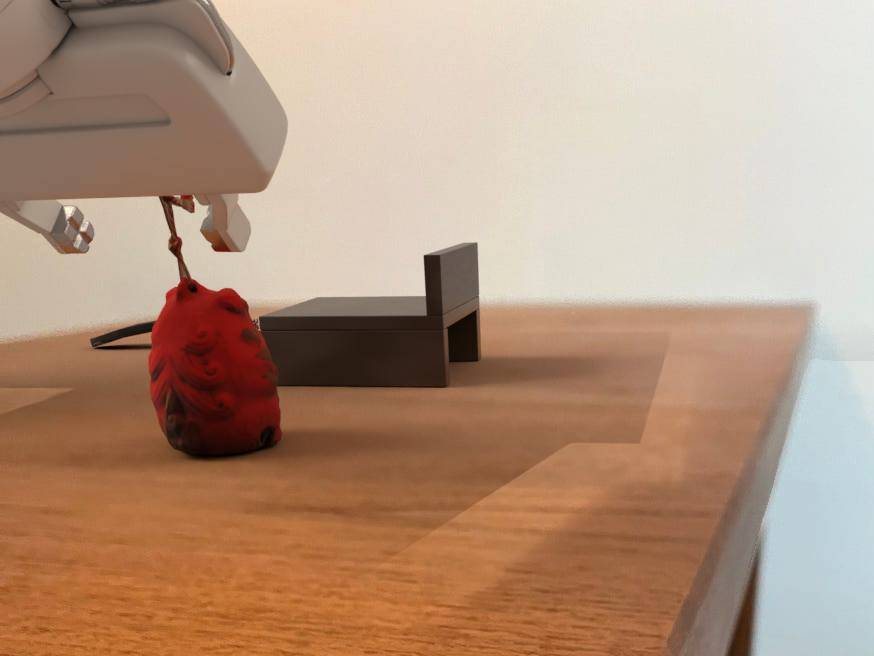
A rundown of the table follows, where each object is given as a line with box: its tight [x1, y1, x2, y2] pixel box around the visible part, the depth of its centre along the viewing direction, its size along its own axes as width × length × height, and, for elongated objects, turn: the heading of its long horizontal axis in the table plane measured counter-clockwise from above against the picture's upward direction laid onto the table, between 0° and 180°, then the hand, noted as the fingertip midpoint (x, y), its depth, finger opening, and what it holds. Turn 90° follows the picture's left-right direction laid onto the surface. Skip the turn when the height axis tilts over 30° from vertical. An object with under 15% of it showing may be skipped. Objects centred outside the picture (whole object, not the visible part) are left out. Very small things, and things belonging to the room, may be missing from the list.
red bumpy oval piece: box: [148, 195, 283, 456], centre depth 55 cm, size 8×7×15 cm
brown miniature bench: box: [258, 241, 482, 388], centre depth 77 cm, size 14×12×9 cm
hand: (155, 243), depth 51 cm, fingers open, 8 cm apart
